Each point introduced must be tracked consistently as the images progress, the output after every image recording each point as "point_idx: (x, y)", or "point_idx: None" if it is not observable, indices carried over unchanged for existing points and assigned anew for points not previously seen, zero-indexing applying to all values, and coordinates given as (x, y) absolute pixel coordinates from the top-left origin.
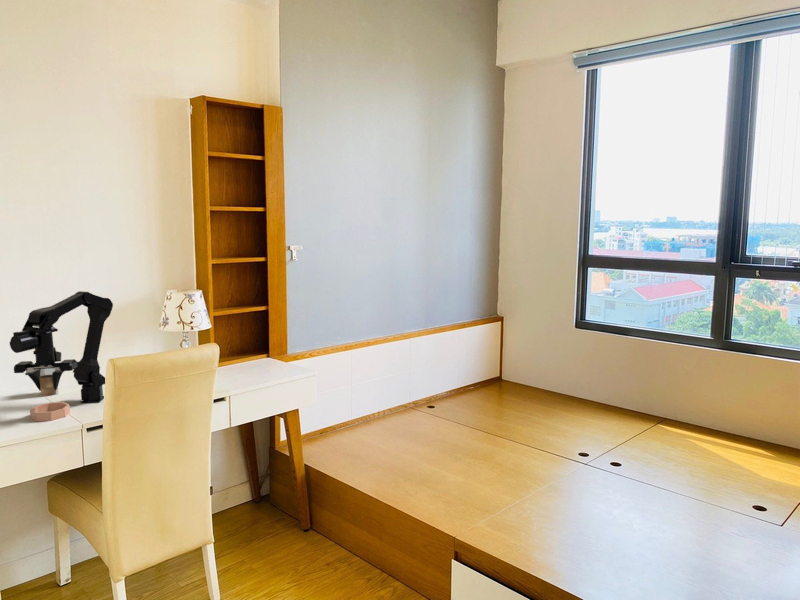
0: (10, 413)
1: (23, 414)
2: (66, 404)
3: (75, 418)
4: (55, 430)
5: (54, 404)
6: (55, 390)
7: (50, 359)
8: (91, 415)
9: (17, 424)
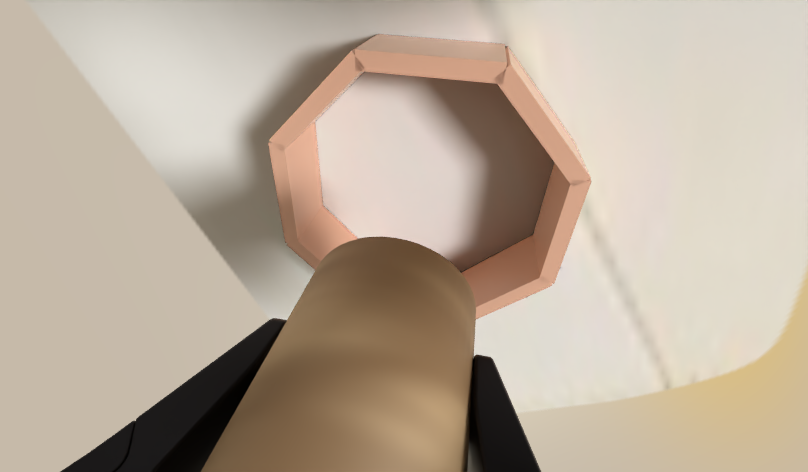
0: (73, 28)
1: (198, 87)
2: (561, 171)
3: (624, 288)
4: (523, 410)
5: (416, 71)
6: (472, 353)
7: None
8: (755, 262)
9: (289, 282)
